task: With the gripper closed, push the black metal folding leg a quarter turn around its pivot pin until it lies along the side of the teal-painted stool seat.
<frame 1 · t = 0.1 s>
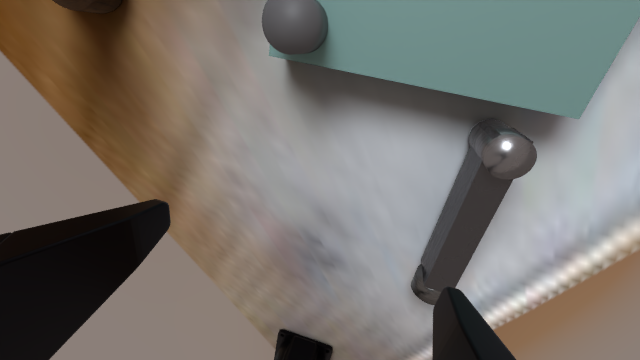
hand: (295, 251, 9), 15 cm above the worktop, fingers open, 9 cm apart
folding leg: (461, 222, 20), point 3 cm above the worktop, hinge at 0.0°
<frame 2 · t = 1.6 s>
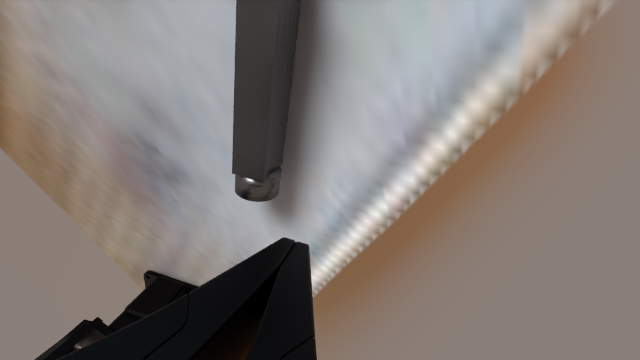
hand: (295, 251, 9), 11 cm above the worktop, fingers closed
folding leg: (264, 81, 15), point 3 cm above the worktop, hinge at 0.0°
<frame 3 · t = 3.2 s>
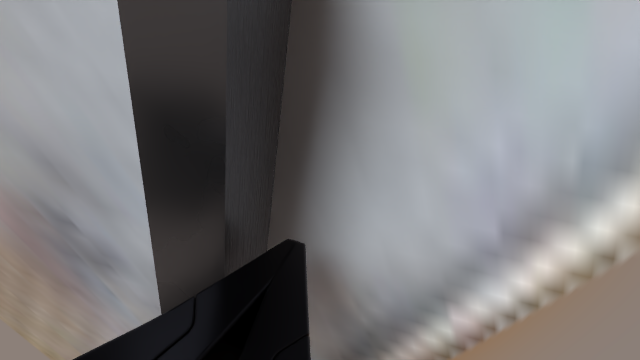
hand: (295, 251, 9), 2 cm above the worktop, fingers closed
folding leg: (217, 139, 7), point 3 cm above the worktop, hinge at -0.9°, touching gripper
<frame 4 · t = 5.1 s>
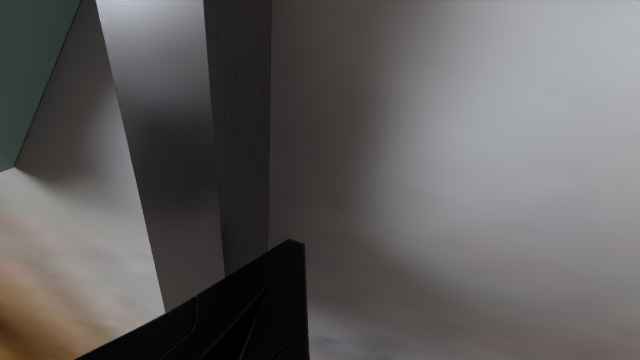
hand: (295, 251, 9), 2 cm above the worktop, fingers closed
folding leg: (209, 140, 7), point 3 cm above the worktop, hinge at -49.4°, touching gripper
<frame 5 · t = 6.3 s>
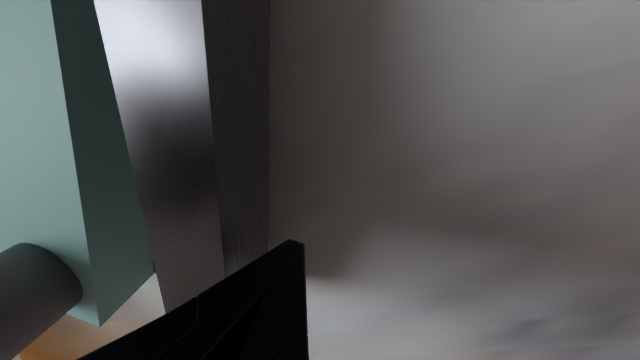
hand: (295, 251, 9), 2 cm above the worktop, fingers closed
folding leg: (208, 141, 7), point 3 cm above the worktop, hinge at -79.1°, touching gripper
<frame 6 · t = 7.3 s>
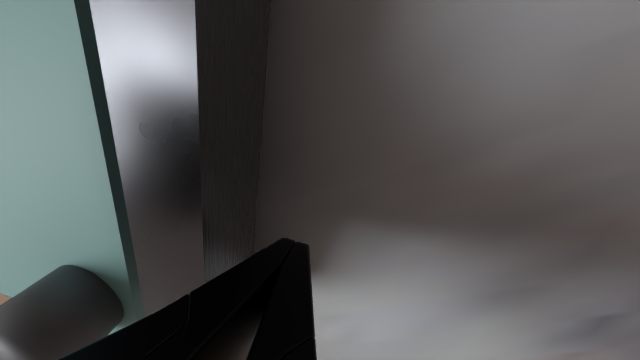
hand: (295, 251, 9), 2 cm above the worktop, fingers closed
folding leg: (197, 137, 7), point 3 cm above the worktop, hinge at -89.8°
stool seat: (13, 68, 11), on the worktop
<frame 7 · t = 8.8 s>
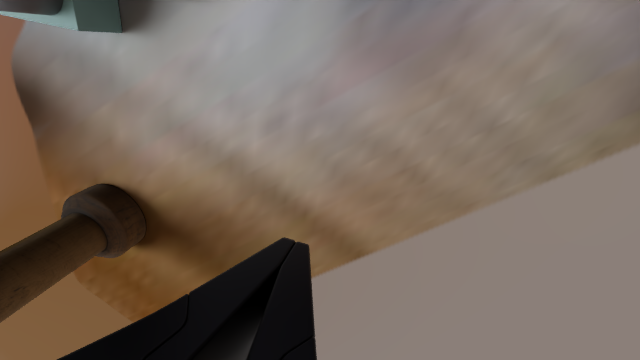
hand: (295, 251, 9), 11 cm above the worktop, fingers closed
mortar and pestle: (118, 213, 27), on the worktop
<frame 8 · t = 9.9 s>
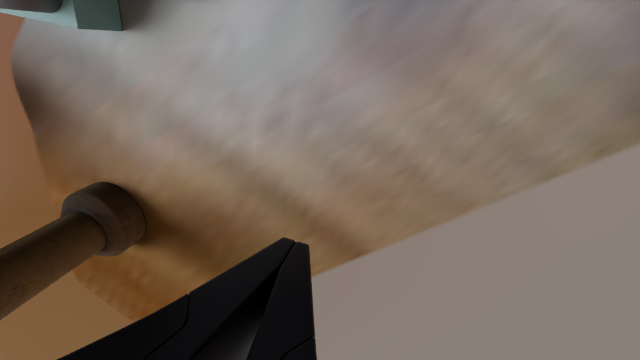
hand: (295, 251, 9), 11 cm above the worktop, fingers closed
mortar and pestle: (117, 212, 27), on the worktop
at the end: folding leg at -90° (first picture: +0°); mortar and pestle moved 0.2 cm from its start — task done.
